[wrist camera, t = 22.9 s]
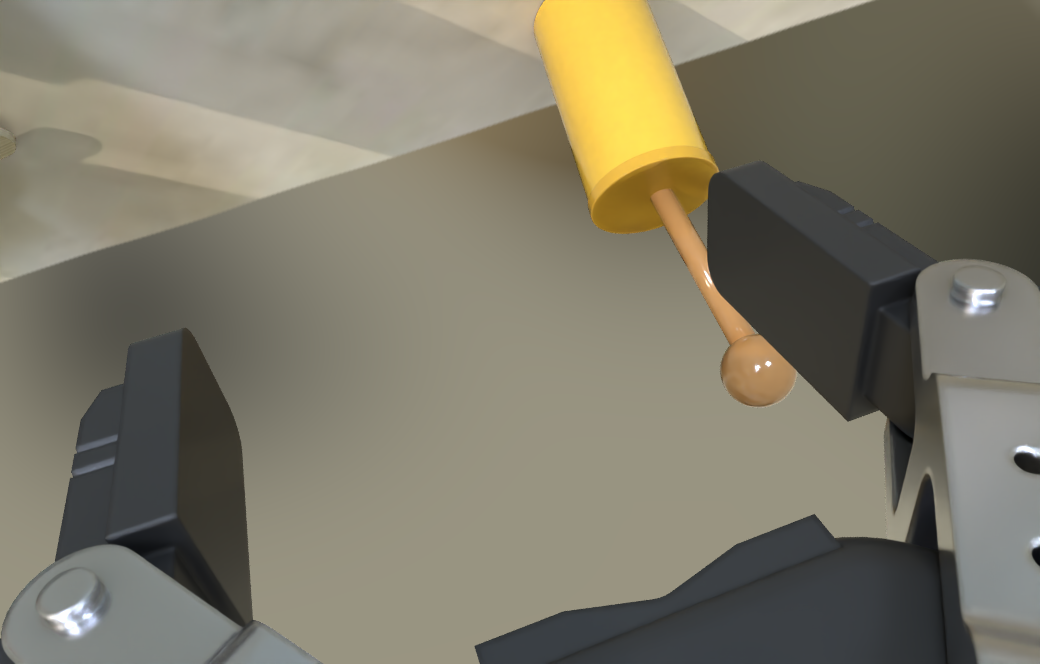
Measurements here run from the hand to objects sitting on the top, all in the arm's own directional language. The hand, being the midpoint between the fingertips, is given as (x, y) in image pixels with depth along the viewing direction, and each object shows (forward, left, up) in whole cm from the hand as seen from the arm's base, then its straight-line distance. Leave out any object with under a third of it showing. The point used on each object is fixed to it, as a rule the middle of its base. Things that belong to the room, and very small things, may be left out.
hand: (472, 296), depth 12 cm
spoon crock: (+6, -21, -23) cm, 32 cm away
